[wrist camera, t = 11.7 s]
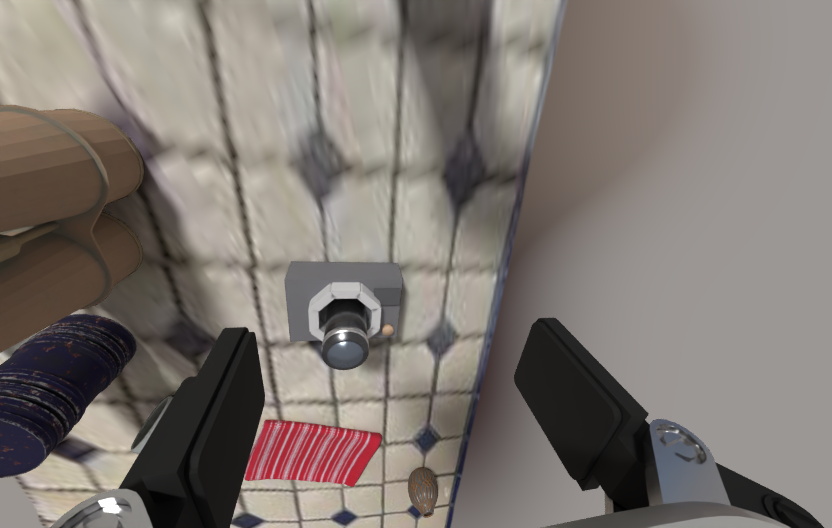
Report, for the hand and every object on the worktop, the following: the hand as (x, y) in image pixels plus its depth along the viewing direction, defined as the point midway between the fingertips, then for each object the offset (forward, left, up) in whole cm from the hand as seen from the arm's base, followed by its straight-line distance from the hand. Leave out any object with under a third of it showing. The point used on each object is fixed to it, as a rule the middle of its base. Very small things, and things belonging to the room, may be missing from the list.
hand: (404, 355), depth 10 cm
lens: (+18, -2, -27) cm, 33 cm away
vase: (+70, +16, -32) cm, 79 cm away
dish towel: (+57, -8, -33) cm, 66 cm away
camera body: (+18, -2, -32) cm, 37 cm away
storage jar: (+26, -36, -32) cm, 55 cm away
